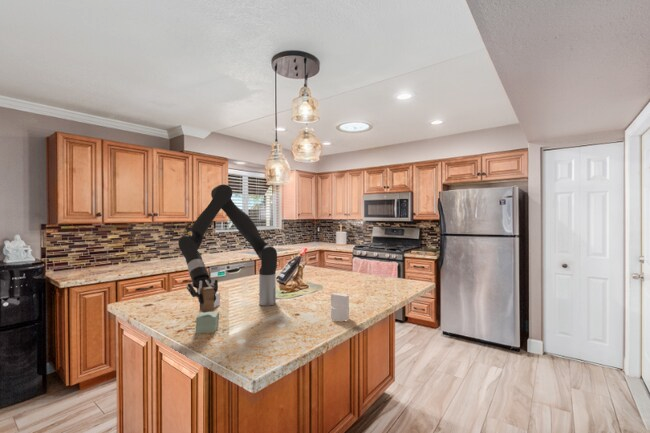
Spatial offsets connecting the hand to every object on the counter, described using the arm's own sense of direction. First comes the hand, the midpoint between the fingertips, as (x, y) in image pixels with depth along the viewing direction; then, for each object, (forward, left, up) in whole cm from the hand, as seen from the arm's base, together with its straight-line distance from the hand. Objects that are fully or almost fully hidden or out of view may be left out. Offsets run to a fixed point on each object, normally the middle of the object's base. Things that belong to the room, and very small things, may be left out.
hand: (208, 302), depth 137 cm
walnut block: (+1, -2, -4) cm, 5 cm away
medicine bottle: (+7, -40, -13) cm, 42 cm away
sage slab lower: (+1, -2, -13) cm, 13 cm away
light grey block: (-60, -8, -13) cm, 62 cm away
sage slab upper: (+1, -2, -10) cm, 10 cm away
